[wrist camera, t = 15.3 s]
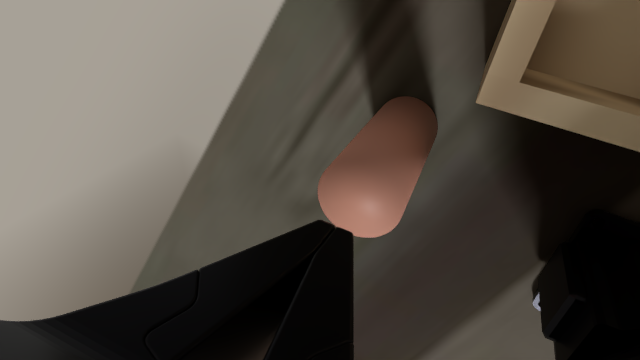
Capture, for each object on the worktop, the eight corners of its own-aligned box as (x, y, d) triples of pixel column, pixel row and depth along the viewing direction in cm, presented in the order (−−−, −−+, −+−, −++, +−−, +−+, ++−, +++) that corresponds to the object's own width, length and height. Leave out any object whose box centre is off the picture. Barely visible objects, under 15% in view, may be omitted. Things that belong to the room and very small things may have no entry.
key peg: (448, 110, 20) (418, 181, 14) (423, 164, 22) (385, 251, 15) (387, 86, 21) (330, 143, 14) (367, 141, 22) (308, 215, 16)
